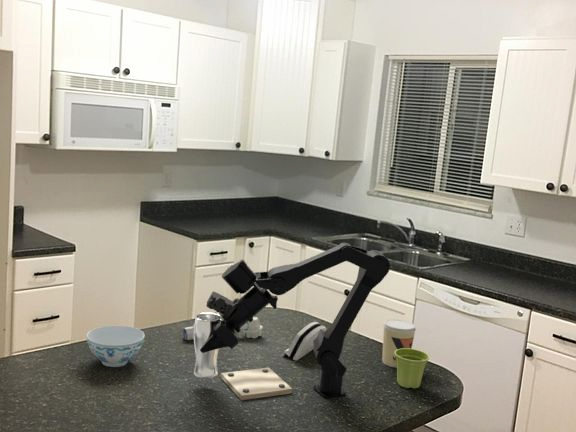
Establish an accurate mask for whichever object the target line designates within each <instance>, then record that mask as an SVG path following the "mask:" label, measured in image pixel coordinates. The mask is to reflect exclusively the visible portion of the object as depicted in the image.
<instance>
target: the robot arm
mask: <svg viewBox="0 0 576 432" xmlns="http://www.w3.org/2000/svg"><path fill="white" fill-rule="evenodd" d="M344 262H348V263H350V264H353V265H355V266H357V267H358V272H357V277H356V280H355V282H354V284H353V285H352V288H351V289H350V291H349V293H348V295H347V297H346V298H345V300H344V302H343V304H342V305H341V307H340V309H339V311H338V313H337V314H336V316H335V318H334V319H333V321H332V324H331V325H330V326H329V328H326V331H325V332H324V331H323V330H322V329H320V331H319V333H318V336H317V337H316V339H315V340H314V341H313V343H314V346H313V350H312V351H313V354H314V356H315V359H316V362H317V363H318V365H319V368H320V369H319V375H318V384H317V385H313V387H312V388H313V389H314V390H315V391H316V392H317V393H318V394H320V395H321V396H322V397H323V398H325V399H327V398H334V397H341V396H346V395H347V392H346V391H344V390H343V381H344V380H343V379H344V376H345V374H346V372H347V367H346V365H345V362H344V361H343V358H342V356H341V355H342V352H343V348H344V343H345V342H344V341H345V338H346V336H347V335H348V332H349V330H350V328H351V327H352V326H353V323H354V321H355V320H356V318H357V317H358V314H360V311H361V309H362V308H363V305H364V303H365V302H366V301H367V298H368V297H369V295H370V293H371V292H372V290H373V289H374V288H375V287H377V285H379V284H380V283H382V281H383V280H384V278H386V276H387V275H388V273H389V272H390V270H391V264H390V260H389V259H388V258H387V257H386V256H385V255H384V254H383V253H382V252H381V251H379V250H376V249H371V250H366V249H364V248H361V247H358V246H355V245H351V244H350V243H348V242H340V243H339V244H338V245H336V246H333V247H331V248H330V249H326V250H325V251H323V252H320V253H318V254H315V255H313V256H310V257H309V258H307V259H304V260H302V261H300V262H297V263H292V264H283V265H280V266H275V267H272V268H271V269H269V270H268V271H256V272H254V271H253V270H252V269H251V268H250V267H249V266H248V263H247V262H246V261H245V260H244V259H241V260H240V261H238V262H236V263H234V264H233V265H231V266H229V267H228V268H227V269H226V270H225V271H224V272H223V274H222V275H221V278H222V279H223V280H224V281H225V282H226V284H227V285H228V286H229V287H230V288H231V289H232V290H233V291H234V292H235V294H240V295H242V294H243V295H242V296H241V297H240V298H234V299H233V300H231V299H229V298H228V297H226V296H224V295H223V294H220V293H219V292H216V291H212V292H211V294H209V295H210V296H209V298H208V299H207V301H206V307H207V308H208V309H210V310H213V311H215V312H214V313H215V314H219V315H220V316H221V317H222V321H220V322H219V323H218V324H217V325H216V326H214V328H213V335H212V336H211V337H210V338H209V339H208V340H207V342H206V343H205V344H204V345H203V346H202V348H201V349H200V351H201V352H202V353H205V352H208V351H212V350H215V349H223V348H229V349H231V350H232V349H234V348H235V347H236V346H237V345H238V343H239V334H238V333H240V332H241V331H242V330H241V327H242V326H244V325H245V324H246V323H247V322H248V321H249V322H252V321H253V317H256V316H257V315H258V314H259V313H260V312H261V311H262V310H264V308H266V307H267V306H268V305H270V306H271V308H273V309H274V310H276V309H277V308H278V307H277V305H278V304H277V303H278V300H279V299H278V298H279V297H278V296H282V295H284V294H285V295H286V293H288V292H290V291H291V290H292V289H294V288H296V286H298V285H299V284H300V283H301V282H302V281H304V280H305V279H308V278H311V277H313V276H315V275H317V274H319V273H321V272H324V271H326V270H329V269H331V268H333V267H335V266H337V265H341V264H342V263H344ZM235 331H236V332H235Z"/></svg>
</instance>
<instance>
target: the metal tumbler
mask: <svg viewBox="0 0 576 432" xmlns="http://www.w3.org/2000/svg"><path fill="white" fill-rule="evenodd" d="M220 321H222V317H221V316H220V315H219V313H217V314H215V312H200V313H198V314H196V315H195V320H194V324H193V325H194V340H193V344H194V351H195V364H194V368H193V374H194V376H195V377H198V378H199V379H200V378H201V379H212V378H215V377H217V376H218V373H219V372H218V371H219V370H218V369H219V368H218V354H219V349H220V348H219V349H215V350H212V351H208V352H205V353H202V352H201V351H200V349H201V348H202V346H203V345H204V344H205V343H206V342H207V340H208V339H209V338H210V337H211V336H212V335H213V328H214V326H216V325H217V324H218V323H219V322H220Z"/></svg>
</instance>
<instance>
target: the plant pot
mask: <svg viewBox="0 0 576 432" xmlns="http://www.w3.org/2000/svg"><path fill="white" fill-rule="evenodd" d="M395 355H396V360H397V368H396V376H397V377H396V382H397V384H398V386H400V387H402V388H406V389H410V388H412V389H418V388H419V387H420V386H421V383H422V380H423V375H424V371H425V368H426V365H427V364H428V361H429V360H430V355H429V354H428V353H426V352H425V351H422V350H419V349H414V348H412V349H409V348H402V349H397V350H396V351H395Z"/></svg>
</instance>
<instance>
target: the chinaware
mask: <svg viewBox="0 0 576 432" xmlns="http://www.w3.org/2000/svg"><path fill="white" fill-rule="evenodd" d="M145 338H146V337H145V332H144V331H142V330H141V329H139V328H136V327H133V326H128V325H105V326H104V325H103V326H99V327H96V328H93V329H91V330H90V331H88V332H87V333H86V341H87V344H88V345H87V346H89V349H90V351H91V353H92V354H93V355H94V356H95V357H96V358H97V360H100V361H101V364H102V365H103V366H106V367H108V368H109V367H111V368H119V367H124V366H125V365H127V364H128V361H129V360H131V359H133V358H134V357H135V356H136V355H137V354H138V352H139V351H140V350H141V347H142V346H143V343H144V341H145Z"/></svg>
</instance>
